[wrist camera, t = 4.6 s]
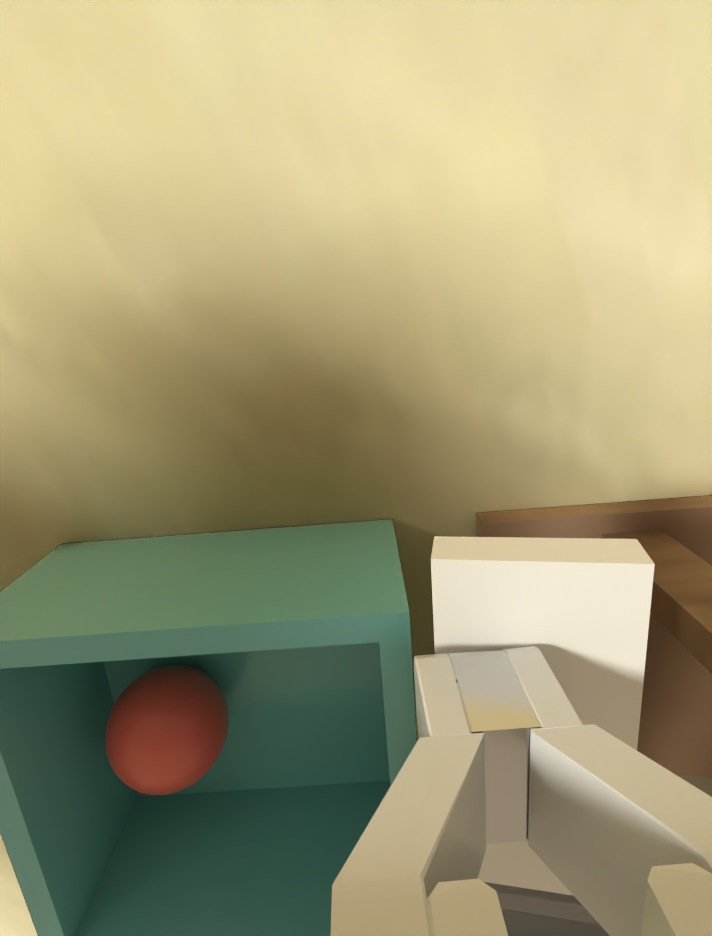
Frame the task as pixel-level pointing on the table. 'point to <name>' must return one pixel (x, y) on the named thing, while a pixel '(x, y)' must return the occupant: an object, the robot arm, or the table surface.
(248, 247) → the table surface
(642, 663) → the tilting lever
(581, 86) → the table surface
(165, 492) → the table surface
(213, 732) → the ball
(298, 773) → the cup
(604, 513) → the lever stand
